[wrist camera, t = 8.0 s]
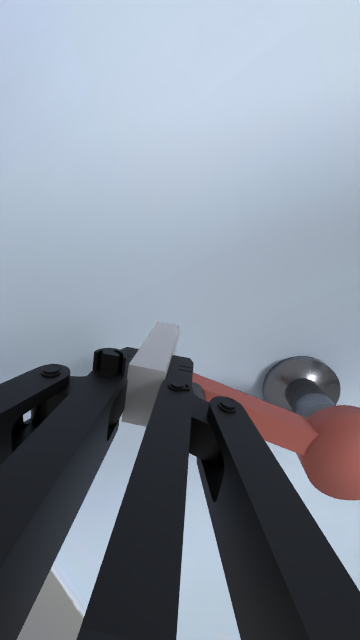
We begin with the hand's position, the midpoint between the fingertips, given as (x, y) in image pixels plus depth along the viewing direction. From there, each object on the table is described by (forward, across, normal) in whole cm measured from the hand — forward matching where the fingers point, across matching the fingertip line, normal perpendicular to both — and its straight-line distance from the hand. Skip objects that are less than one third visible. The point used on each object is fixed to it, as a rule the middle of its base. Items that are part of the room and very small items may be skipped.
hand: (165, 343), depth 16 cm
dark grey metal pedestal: (+7, +13, -5) cm, 16 cm away
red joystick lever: (0, +9, -4) cm, 10 cm away
